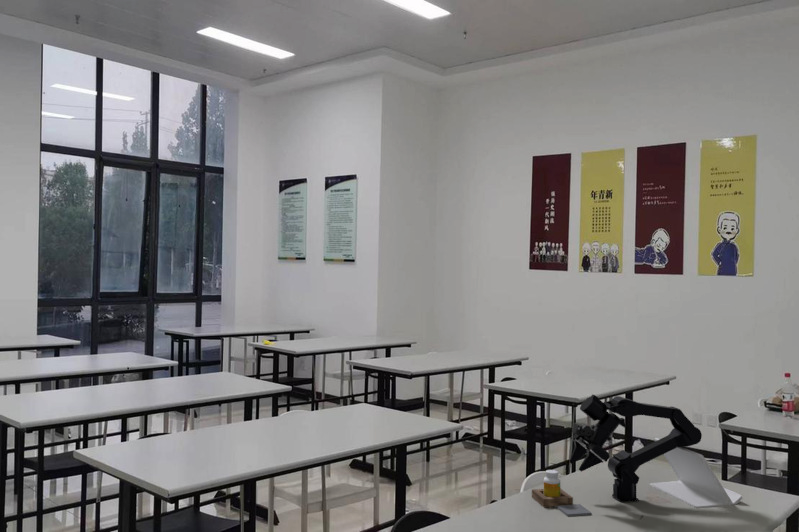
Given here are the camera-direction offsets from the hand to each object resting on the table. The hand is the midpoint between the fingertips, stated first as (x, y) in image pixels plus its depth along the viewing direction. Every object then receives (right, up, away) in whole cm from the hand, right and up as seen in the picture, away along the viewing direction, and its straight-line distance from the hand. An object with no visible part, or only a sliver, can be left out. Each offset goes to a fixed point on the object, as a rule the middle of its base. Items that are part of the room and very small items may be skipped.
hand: (575, 466), depth 220 cm
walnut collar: (-8, -11, -1) cm, 14 cm away
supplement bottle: (-8, -11, -1) cm, 14 cm away
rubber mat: (-3, -11, -11) cm, 15 cm away
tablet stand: (+42, -12, +7) cm, 45 cm away
